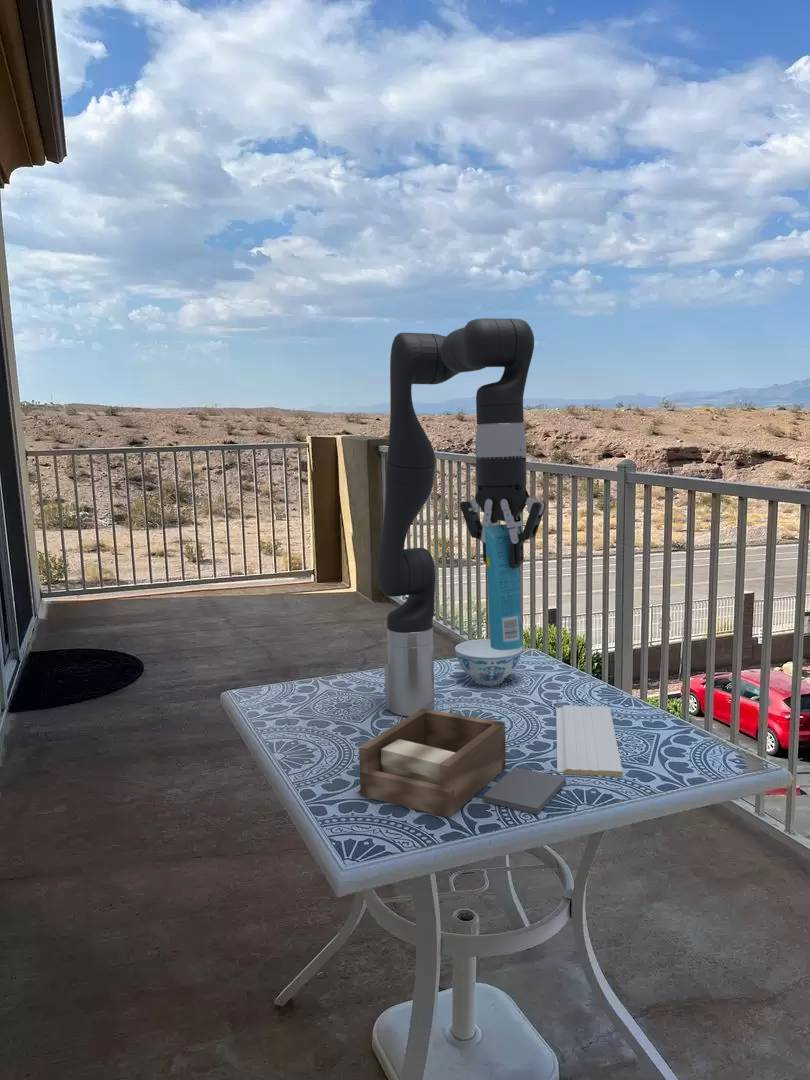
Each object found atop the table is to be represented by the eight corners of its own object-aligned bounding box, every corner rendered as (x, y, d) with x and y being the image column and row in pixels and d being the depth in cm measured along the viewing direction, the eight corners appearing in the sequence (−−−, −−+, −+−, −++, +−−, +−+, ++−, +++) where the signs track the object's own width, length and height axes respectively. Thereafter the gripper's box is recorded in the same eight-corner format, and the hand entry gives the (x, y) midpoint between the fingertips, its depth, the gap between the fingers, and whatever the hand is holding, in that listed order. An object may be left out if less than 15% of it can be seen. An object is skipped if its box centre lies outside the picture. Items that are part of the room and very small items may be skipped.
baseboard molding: (548, 776, 137) (622, 780, 135) (548, 760, 136) (622, 763, 134) (548, 711, 167) (609, 714, 165) (548, 698, 167) (609, 700, 165)
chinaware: (529, 673, 191) (528, 641, 190) (513, 694, 177) (513, 659, 176) (467, 668, 196) (466, 637, 195) (447, 687, 182) (446, 654, 181)
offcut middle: (382, 779, 131) (382, 764, 131) (399, 768, 135) (398, 753, 135) (443, 793, 126) (443, 778, 125) (458, 781, 130) (458, 766, 129)
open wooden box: (360, 795, 130) (358, 747, 129) (423, 751, 147) (422, 708, 146) (449, 818, 122) (448, 766, 121) (505, 768, 139) (505, 722, 138)
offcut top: (381, 764, 131) (380, 749, 131) (399, 753, 135) (399, 739, 135) (439, 779, 125) (439, 763, 124) (457, 768, 129) (456, 752, 129)
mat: (482, 801, 127) (482, 795, 127) (514, 772, 137) (514, 767, 137) (537, 814, 122) (537, 808, 122) (565, 783, 133) (565, 777, 132)
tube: (506, 640, 132) (502, 521, 130) (532, 644, 129) (528, 522, 127) (479, 650, 127) (474, 526, 124) (505, 654, 123) (501, 527, 121)
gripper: (447, 456, 125) (451, 568, 127) (534, 453, 117) (536, 573, 119) (470, 454, 131) (473, 561, 133) (554, 452, 124) (556, 565, 126)
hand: (503, 566), depth 126 cm, fingers closed on tube, 3 cm apart
